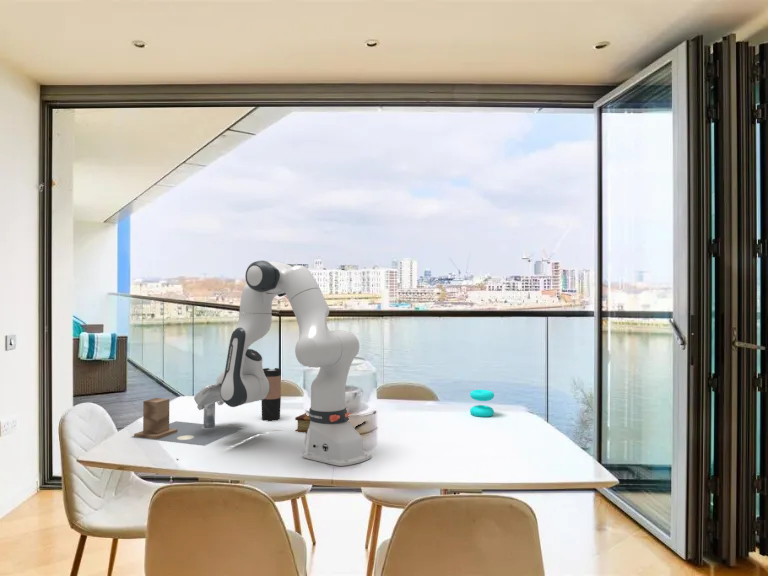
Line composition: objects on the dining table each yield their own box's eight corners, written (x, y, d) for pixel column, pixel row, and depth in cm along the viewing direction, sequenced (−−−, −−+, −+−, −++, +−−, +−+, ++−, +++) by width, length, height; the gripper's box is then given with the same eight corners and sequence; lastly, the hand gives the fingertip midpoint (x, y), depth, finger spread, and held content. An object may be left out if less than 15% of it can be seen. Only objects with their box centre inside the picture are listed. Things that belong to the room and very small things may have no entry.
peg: (216, 426, 204) (217, 399, 204) (206, 428, 202) (207, 401, 202) (211, 425, 207) (211, 398, 207) (201, 426, 204) (201, 399, 204)
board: (244, 430, 203) (244, 428, 203) (204, 448, 181) (204, 445, 181) (176, 423, 212) (176, 421, 212) (129, 440, 190) (129, 437, 190)
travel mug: (270, 422, 217) (270, 371, 217) (257, 419, 221) (257, 369, 221) (284, 418, 223) (285, 369, 223) (271, 415, 227) (272, 367, 227)
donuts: (495, 390, 237) (492, 394, 227) (495, 413, 237) (492, 418, 227) (472, 388, 240) (468, 392, 230) (472, 411, 240) (468, 416, 230)
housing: (177, 432, 197) (177, 398, 197) (158, 439, 187) (158, 404, 187) (154, 429, 200) (154, 396, 200) (134, 436, 190) (134, 401, 190)
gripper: (211, 393, 189) (191, 418, 194) (253, 385, 207) (233, 407, 212) (202, 379, 192) (182, 404, 196) (244, 372, 209) (225, 394, 214)
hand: (209, 405), depth 204 cm, fingers open, 8 cm apart
